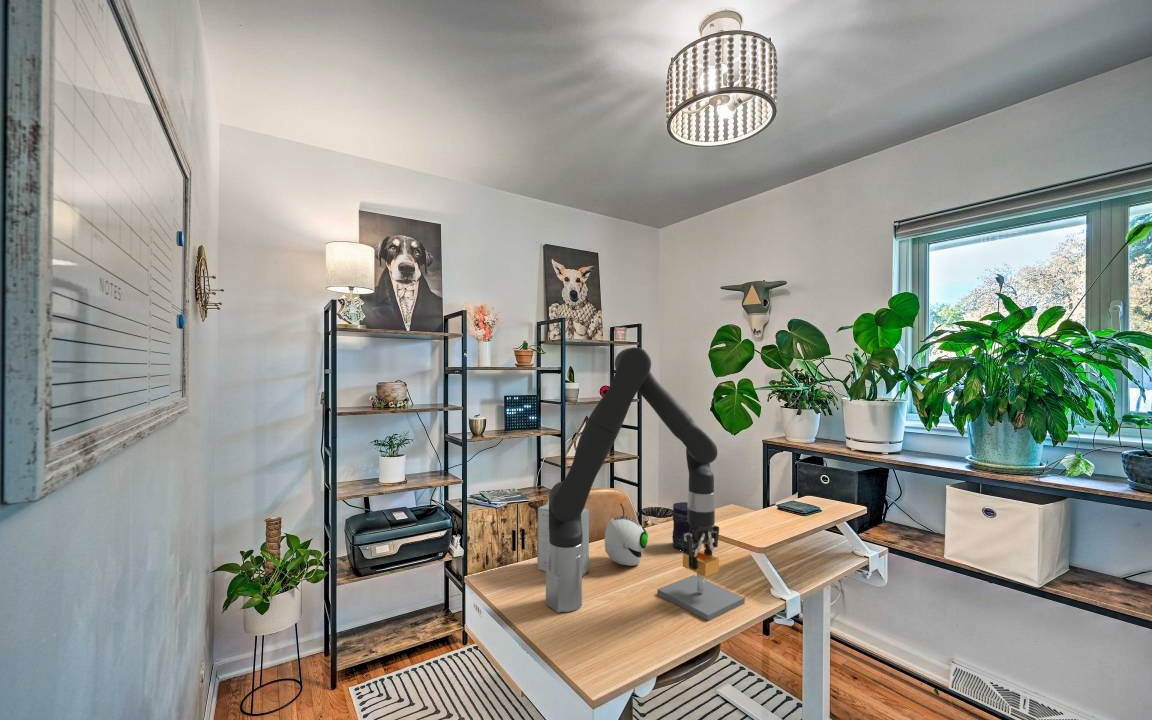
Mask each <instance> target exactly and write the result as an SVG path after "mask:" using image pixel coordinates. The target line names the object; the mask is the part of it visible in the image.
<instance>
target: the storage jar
mask: <svg viewBox="0 0 1152 720" xmlns="http://www.w3.org/2000/svg"><path fill="white" fill-rule="evenodd" d="M672 508H673V509H672V522H673V527H672V528H673V530H672V535H671V536H672V548H673V547H674V548H675V549H674V548H673V549H674V550H676V549H678V550H681V551H683V544H682V533H685V534H687V533H689V530H690V524H689V523H688V501H687V502H686V501H685V502H684V501H683V502H676V503H673V504H672ZM693 544H694V545H697V543H694V542H693ZM694 549H695V548H694V547H693V549H692V550H694ZM678 550H677V551H678ZM687 550H688V548H687ZM681 551H680V552H681Z"/></svg>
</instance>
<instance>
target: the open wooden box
mask: <svg viewBox="0 0 1152 720" xmlns="http://www.w3.org/2000/svg"><path fill="white" fill-rule="evenodd" d="M693 552H694V550H693ZM682 567H683V568H685V569H687V570H690V571H692V572H693V573H696V574H697V573H698V574H700V575H703V576H704V578H705V577H709V576H710V575H713V574H716V573H718V572H720V558H719V557H717V556H714V555H713V554H712V555H709V554H706V553H704V551H701V550H700V549H699V550H698V553H697V569H696V570H693V569H691V568H690V567H689V555H686V554H684V553H683V554H682Z"/></svg>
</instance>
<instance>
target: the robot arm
mask: <svg viewBox="0 0 1152 720" xmlns="http://www.w3.org/2000/svg"><path fill="white" fill-rule="evenodd" d="M614 368H615V373H614V376H613V378H612V381H611V383H610V384H609V387H608V389H607V391H606V393H605V394H604V395H603V396H602V398H601V399H600V400H599V402H598V403H597V404H596V406H595V407H594V409H593V410H592V412H591V413H590V415H589V417H588V419H587V421H586V423H585V425H584V427H583V429H582V432H581V433H580V435H579V439H578V441H577V446H576V448H575V453H574V456H573V460H572V464H571V465H570V468H569V471H568V472H567V475H566V476H565V478H564V480H563V481H559V482H557V483H556V484H555V485H553V487H552V488H551V490H550V492H549V495H548V496H549V497H548V504H549V569H547V570H546V571H545V606H548V607H549V608H550V609H552V610H553V611H554V612H556V614H559V613H568V612H569V613H570V612H574V611H577V610H580V608H581V607H582V606H583V576H582V541H583V533H582V524H581V513H582V511H583V509H585V506H586V504H587V501H588V497H589V496H590V495H589V494H590V492H591V490H592V487H593V483H594V482H595V479H596V477H597V476H598V473H599V472H600V470H601V468H602V467H603V464H605V463H604V462H605V461H606V459H607V457H608V455H609V453H610V451H611V449H612V447H613V445H614V443H615V441H616V439H617V437H618V435H619V432H620V430H621V429H622V426H623V424H624V421H625V419H626V416H627V414H628V413H629V409H630V406H631V404H632V402H633V400H634V398H635V396H636V395H637V393H638V394H640V395H641V396H642V397H643V399H644V400H645V401H646V402H647V403H648V404H649V405H650V407H651V408H652V409H653V410H654V412H655V413H656V414H657V416H658V417H659V418H660V420H661V421H662V422H663V423H664V425H665V426H666V427H667V428H668V430H669V431H670V432H671V434H673V436H675V437H676V438H677V439H678V440H679V441H681V442H682V443H683V445H684V446H685V447H686V449H685V457H686V464H687V470H688V494H687V503H688V523H689V524H690V530H689V533H687V534H685V533H682V544H683V552H682V553H683V554H686V555H689V567H690V568H691V569H693V570H696V569H697V553H698V550H699V551H700V550H701V548H702V545H703V547H704V549H703V552H704V553H706V554H709V555H712V556H713V551H714V549H715V548H718V545H719V536H720V535H719V534H720V526H718V525H715V523H716V520H715V518H716V515H715V513H716V512H715V511H716V508H715V507H716V506H715V504H716V500H715V499H716V498H715V476H714V473H713V471H712V469H711V465H710V464H711V463H713V462H714V461H715V460H716V459H717V457H718V448H717V444H716V443H715V441H714V440H713V439H712V438H711V437H710V436H709V435H708V434H707V433H706V432H705V431H704V430H703V429H702V428H701V427H700V426H699V425H698V424H697V423H696V421H695V420H694V419H693V417H692V416H691V415H690V414H689V412H688V411H687V410H686V409H685V407H684V406H683V405H682V404H681V403H680V402H679V401H678V400H677V398H675V397H674V396H673V395H672V394H671V393H670V392H669V391H668V390H667V389H665V387H664V386H662V384H661V383H660V382H659V381H658V379H656V377H655V376H654V375H653V373H652V372H651V368H652V360H651V357H650V355H649V352H647V351H646V350H645V349H643V348H640V347H629V348H625V349H623V350H621V351H620V352H619V353H617V355H616V357H615V360H614ZM713 539H714V540H713ZM693 542H694V543H697V545H694V544H693ZM693 547H694V548H695V549H694V552H693V550H692V549H693ZM687 548H688V550H687Z"/></svg>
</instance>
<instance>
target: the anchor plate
mask: <svg viewBox="0 0 1152 720" xmlns="http://www.w3.org/2000/svg"><path fill="white" fill-rule="evenodd" d="M657 595H658V596H660V597H662V598H664V599H666V600H668V601H670V602H672V603H673V604H675V605H677V606H678V607H679V606H680V607H681V608H683V609H685V610H686V611H688V612H691V613H692V614H694V615H696V616H698V617H700V618H702V619H704V620H706V621H708V622H709V621H712V620H713V619H716V618H717V617H720V616H721V615H722V616H723V614H725V613H727V612H729V611H731V610H734V609H736V608H738V607H740V606H742V605H744V604H745V600H746V599H745V596H744V597H743V596H741V595H739V594H738V593H735V592H733V591H731V590H728V589H726V588H725V587H724V588H723V587H722V586H719V585H717V584H715V583H712V582H710V581H708V580H706V579H705V576H703V575H700V574H698V573H696V575H695V574H692V575H690V576H687V577H685V578H683V579H680V580H677V581H675V582H672V583H670V584H667V585H664V586H662V587H659V588H657Z"/></svg>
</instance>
